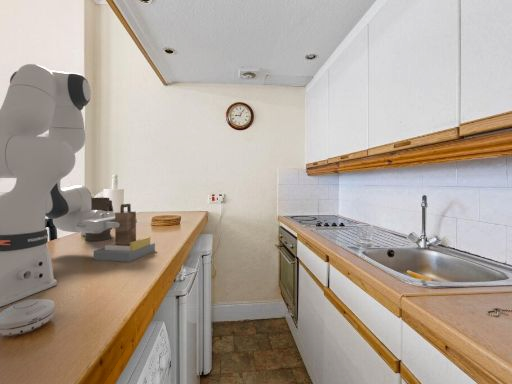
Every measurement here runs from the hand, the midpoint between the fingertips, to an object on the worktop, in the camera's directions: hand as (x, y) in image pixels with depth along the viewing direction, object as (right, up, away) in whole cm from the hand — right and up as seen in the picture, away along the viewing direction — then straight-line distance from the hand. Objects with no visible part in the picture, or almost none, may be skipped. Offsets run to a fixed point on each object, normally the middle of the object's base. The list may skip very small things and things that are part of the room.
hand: (128, 222), depth 105 cm
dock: (-1, -12, +1) cm, 12 cm away
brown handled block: (-1, -9, 0) cm, 9 cm away
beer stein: (-27, -11, +32) cm, 43 cm away
